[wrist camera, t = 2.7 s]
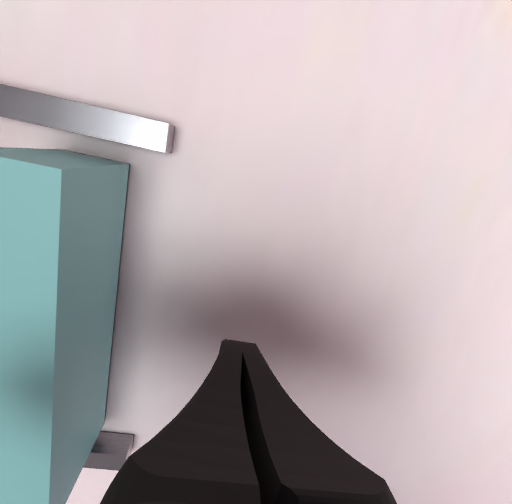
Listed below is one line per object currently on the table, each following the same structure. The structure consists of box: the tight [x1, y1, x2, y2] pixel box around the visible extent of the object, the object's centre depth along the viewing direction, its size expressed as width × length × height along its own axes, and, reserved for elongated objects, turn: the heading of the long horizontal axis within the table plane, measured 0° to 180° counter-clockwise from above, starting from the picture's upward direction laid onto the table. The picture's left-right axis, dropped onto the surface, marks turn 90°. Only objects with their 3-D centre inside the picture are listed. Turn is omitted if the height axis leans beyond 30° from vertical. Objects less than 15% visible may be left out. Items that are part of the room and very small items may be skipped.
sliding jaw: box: [0, 147, 129, 504], centre depth 11 cm, size 3×13×5 cm, turn 168°
